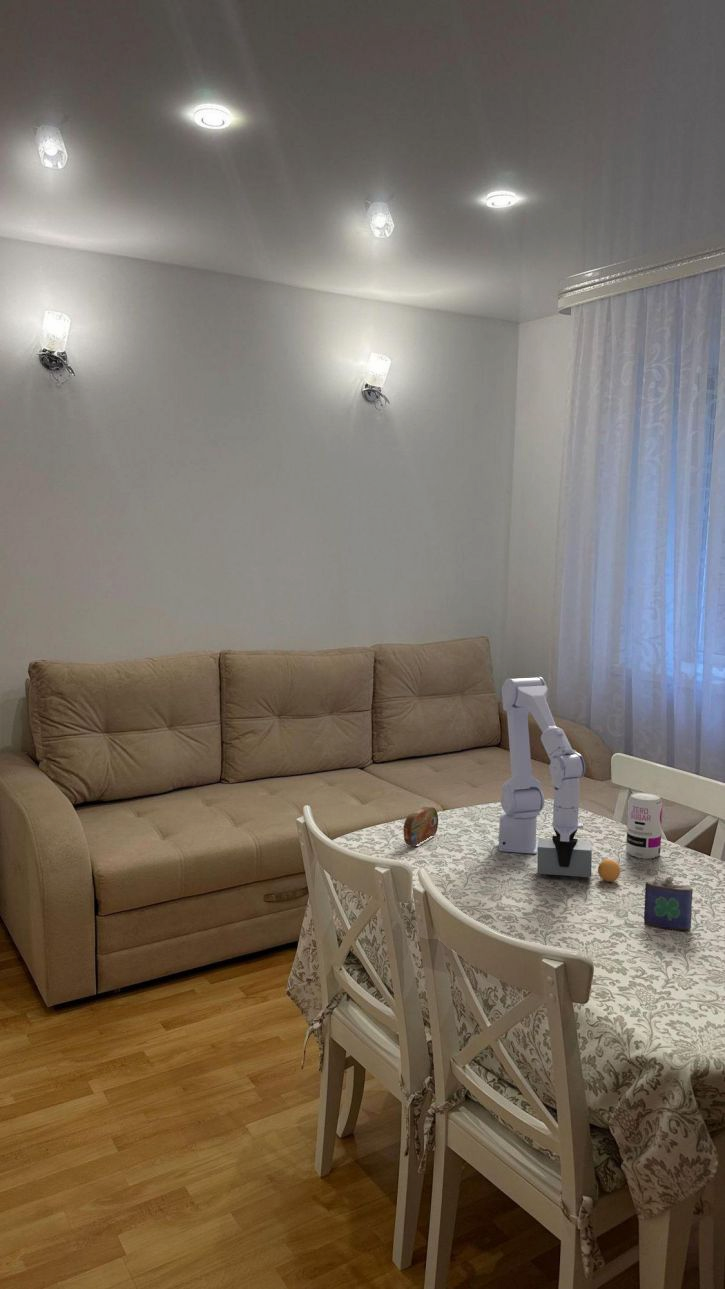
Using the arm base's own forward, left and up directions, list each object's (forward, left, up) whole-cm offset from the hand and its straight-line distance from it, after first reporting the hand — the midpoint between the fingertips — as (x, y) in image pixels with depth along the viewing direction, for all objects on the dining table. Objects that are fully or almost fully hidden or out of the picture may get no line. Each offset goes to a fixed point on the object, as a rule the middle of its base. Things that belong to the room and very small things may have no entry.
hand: (564, 861), depth 213 cm
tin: (-37, +16, -4) cm, 40 cm away
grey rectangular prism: (0, 0, -2) cm, 2 cm away
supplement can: (+19, +20, -4) cm, 28 cm away
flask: (+21, -23, -4) cm, 31 cm away
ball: (+10, 0, -1) cm, 10 cm away
